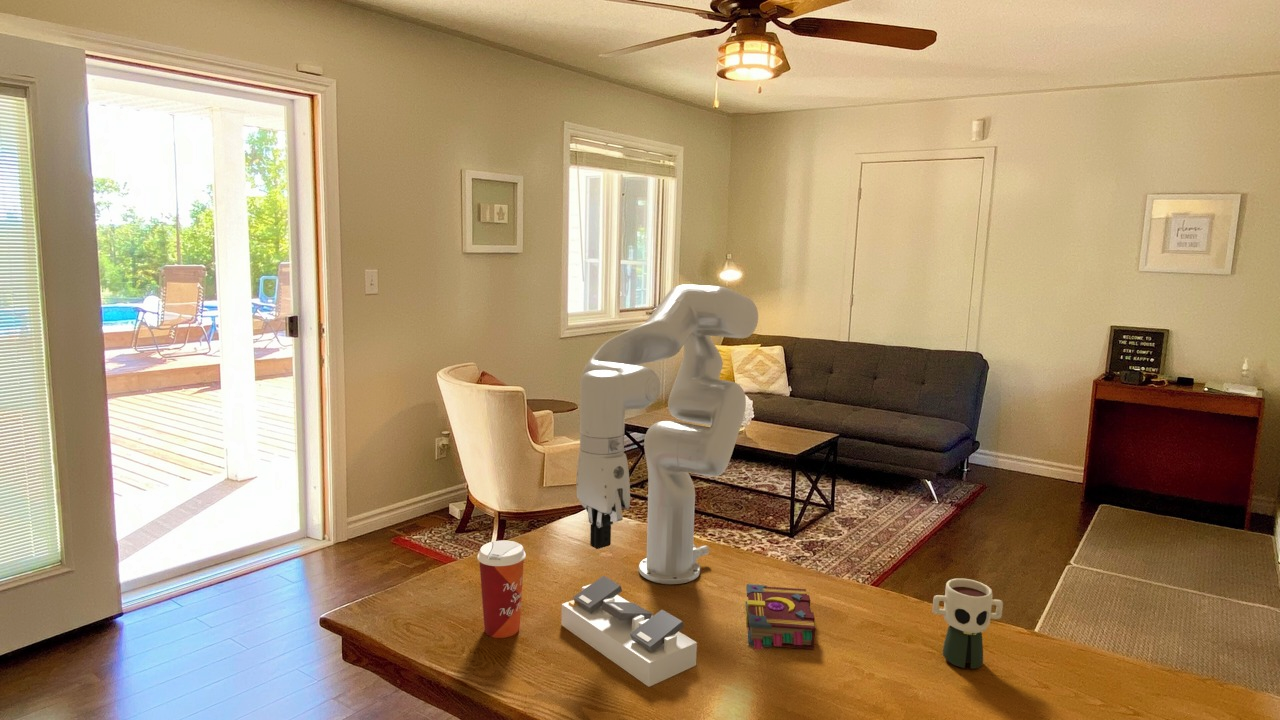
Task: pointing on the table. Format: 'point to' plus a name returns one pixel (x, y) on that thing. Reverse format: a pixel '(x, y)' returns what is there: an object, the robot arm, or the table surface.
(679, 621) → the rocker
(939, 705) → the table surface
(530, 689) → the table surface
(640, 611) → the rocker mid
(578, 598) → the rocker
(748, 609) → the decorative book
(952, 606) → the character mug
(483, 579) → the coffee cup
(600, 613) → the strip
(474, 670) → the table surface
